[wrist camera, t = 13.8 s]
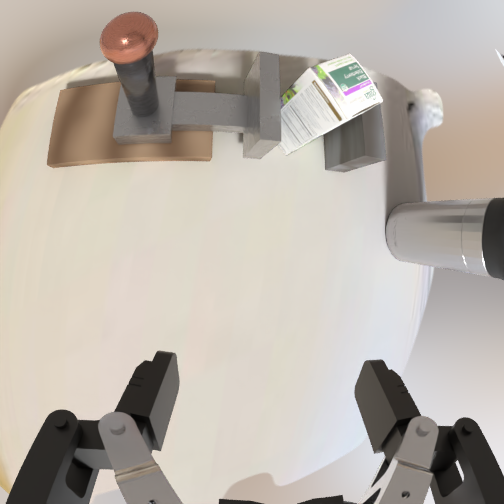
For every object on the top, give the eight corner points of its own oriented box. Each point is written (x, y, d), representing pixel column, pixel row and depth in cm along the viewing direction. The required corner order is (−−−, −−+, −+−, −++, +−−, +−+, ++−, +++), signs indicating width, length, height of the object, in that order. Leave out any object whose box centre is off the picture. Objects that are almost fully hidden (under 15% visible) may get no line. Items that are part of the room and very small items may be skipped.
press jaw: (260, 83, 30) (319, -3, 14) (260, 158, 31) (335, 99, 14) (128, 79, 26) (102, -17, 10) (117, 157, 27) (60, 90, 11)
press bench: (339, 106, 35) (376, 83, 26) (344, 172, 36) (386, 159, 27) (65, 96, 26) (40, 64, 17) (53, 167, 27) (18, 151, 18)
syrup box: (292, 102, 33) (349, 48, 19) (317, 138, 35) (386, 99, 21) (259, 120, 32) (307, 63, 18) (286, 158, 34) (349, 121, 20)
